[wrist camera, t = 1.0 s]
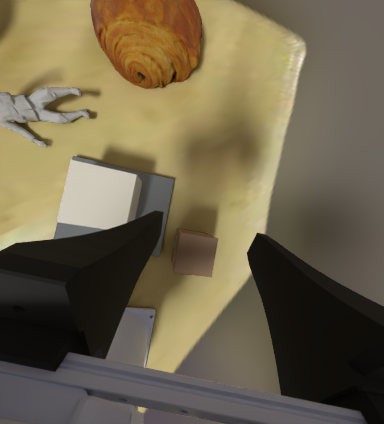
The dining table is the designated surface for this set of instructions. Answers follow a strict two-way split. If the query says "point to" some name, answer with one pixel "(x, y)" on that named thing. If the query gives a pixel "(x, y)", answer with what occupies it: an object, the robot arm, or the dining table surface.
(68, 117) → the soldier figure
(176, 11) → the croissant
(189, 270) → the walnut cube
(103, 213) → the cream block
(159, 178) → the slate board
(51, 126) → the dining table surface
